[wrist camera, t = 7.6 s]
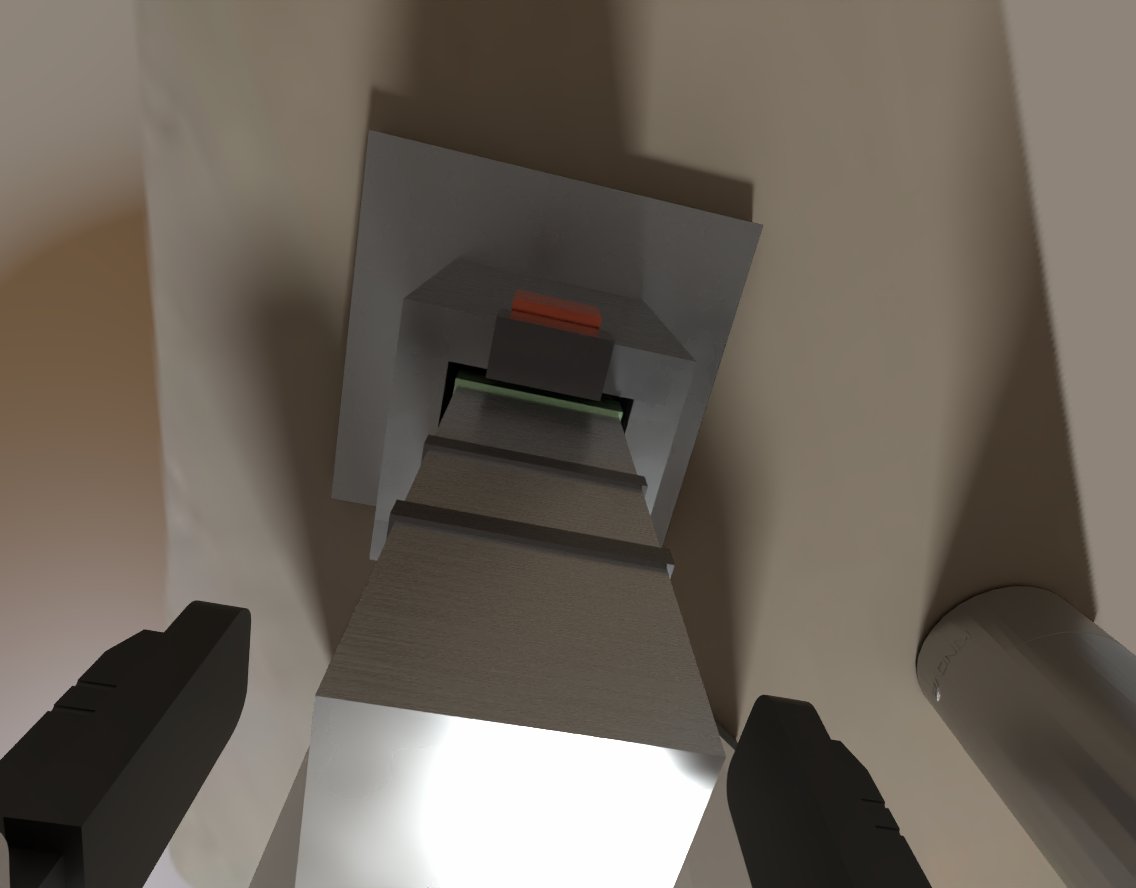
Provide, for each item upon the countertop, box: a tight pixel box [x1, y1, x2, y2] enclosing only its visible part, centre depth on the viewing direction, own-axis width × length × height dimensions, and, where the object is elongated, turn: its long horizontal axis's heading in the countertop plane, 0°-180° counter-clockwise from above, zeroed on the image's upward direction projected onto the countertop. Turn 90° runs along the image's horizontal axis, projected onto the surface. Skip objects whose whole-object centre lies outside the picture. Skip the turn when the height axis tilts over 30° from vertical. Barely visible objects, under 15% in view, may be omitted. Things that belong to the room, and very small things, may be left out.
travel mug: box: [249, 745, 310, 888], centre depth 27 cm, size 6×7×20 cm
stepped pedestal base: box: [331, 130, 763, 561], centre depth 24 cm, size 16×16×13 cm
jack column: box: [295, 365, 726, 888], centre depth 16 cm, size 5×5×18 cm
